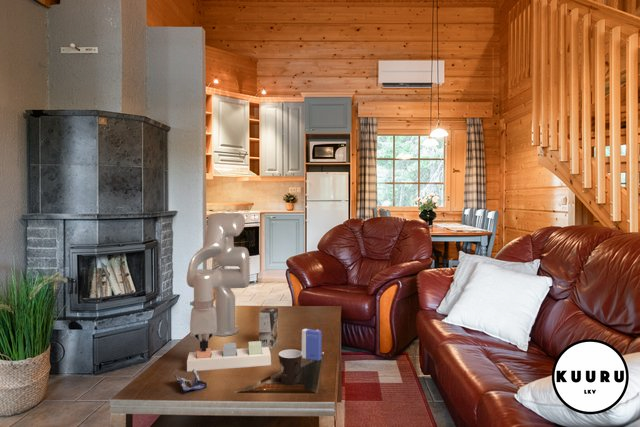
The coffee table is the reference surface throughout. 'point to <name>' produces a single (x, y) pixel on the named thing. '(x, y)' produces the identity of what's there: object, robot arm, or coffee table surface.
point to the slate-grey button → (229, 349)
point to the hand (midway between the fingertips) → (204, 350)
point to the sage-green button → (254, 348)
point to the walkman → (311, 344)
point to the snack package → (195, 383)
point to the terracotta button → (204, 353)
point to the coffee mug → (290, 365)
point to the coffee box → (268, 327)
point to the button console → (228, 360)
